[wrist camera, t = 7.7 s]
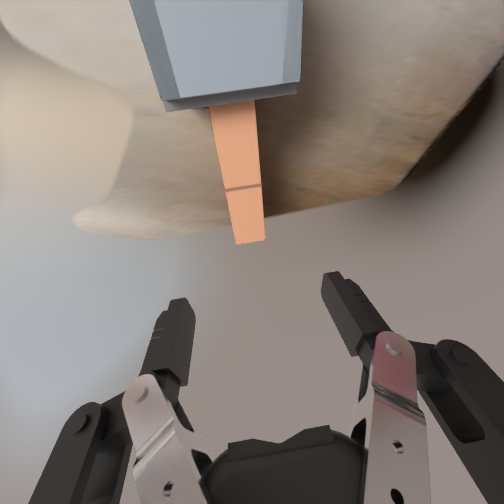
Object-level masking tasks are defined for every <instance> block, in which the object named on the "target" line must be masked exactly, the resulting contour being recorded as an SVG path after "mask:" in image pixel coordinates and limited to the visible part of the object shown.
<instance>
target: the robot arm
mask: <svg viewBox="0 0 504 504" xmlns="http://www.w3.org/2000/svg"><path fill="white" fill-rule="evenodd" d="M321 295H322V299H323V301H324V303H325V305H326V307H327V309H328V311H329V313H330V315H331V317H332V319H333V321H334V323H335V325H336V327H337V329H338V331H339V333H340V335H341V337H342V339H343V341H344V343H345V345H346V346H347V349H348V351H349V353H350V355H351V356H352V357H353V356H359V357H360V359H361V361H362V363H361V369H360V376H359V383H358V389H357V396H356V402H355V406H354V409H353V412H352V417H351V422H350V428H349V435H348V436H346V435H344V434H342V433H340V432H337V431H334V430H331V429H330V426H329V425H326V426H320V427H315V428H309V429H305V430H302V431H301V432H299V433H298V434H296V435H294V436H293V437H291V438H289V439H288V440H286V441H284V442H283V443H278V444H277V443H273V442H267V441H262V440H257V439H249V440H243V441H238V442H233V443H228V449H227V450H225V451H224V452H223V453H222V454H220V455H219V456H218V457H217V458H216V459H214V457H213V455H212V453H211V452H210V450H209V448H208V446H207V444H206V443H205V441H204V440H203V438H202V437H201V436H200V435H199V433H198V432H197V430H196V428H195V426H194V424H193V422H192V421H191V419H190V417H189V415H188V413H187V411H186V409H185V407H184V405H183V403H182V401H181V400H180V398H179V396H178V395H179V388H180V387H181V386H187V384H188V376H189V368H190V361H191V353H192V346H193V338H194V330H195V322H196V320H195V314H194V311H193V309H192V308H191V306H190V304H189V302H188V300H187V299H186V298H179V299H174V300H171V301H170V304H169V307H168V310H167V311H163V312H162V313H161V315H160V316H159V318H158V319H157V321H156V324H155V327H154V332H153V334H152V337H151V340H150V343H149V346H148V350H147V353H146V356H145V359H144V363H143V366H142V369H141V372H140V374H139V376H138V377H137V378H136V379H135V380H134V381H133V382H132V383H131V384H130V385H129V386H128V388H127V389H126V391H125V392H123V393H121V394H119V395H117V396H116V397H114V398H112V399H110V400H108V401H106V402H104V403H102V404H101V405H100V404H98V403H95V402H89V403H86V404H85V405H83V406H81V407H80V408H78V409H77V410H76V411H75V412H74V413H73V414H72V415H71V416H70V417H69V419H68V420H67V422H66V423H65V425H64V427H63V429H62V431H61V433H60V435H59V437H58V439H57V442H56V444H55V446H54V448H53V450H52V453H51V455H50V457H49V459H48V461H47V464H46V466H45V468H44V470H43V472H42V475H41V477H40V479H39V482H38V484H37V486H36V488H35V490H34V492H33V494H32V497H31V499H30V501H29V503H28V504H119V502H120V498H121V494H122V489H123V485H124V480H125V476H126V471H127V466H128V463H129V458H130V453H131V450H132V445H134V448H135V451H136V456H137V458H136V462H135V463H134V466H133V475H134V480H135V484H136V487H137V491H138V495H139V499H140V502H141V504H431V491H430V475H429V459H428V443H427V427H426V419H425V416H424V414H423V412H422V411H421V410H420V409H419V407H418V403H417V390H418V391H419V393H420V394H421V396H422V397H423V399H424V401H425V402H426V404H427V406H428V407H429V409H430V410H431V412H432V414H433V415H434V417H435V418H436V420H437V422H438V423H439V425H440V427H441V428H442V430H443V432H444V433H445V435H446V436H447V438H448V440H449V441H450V443H451V444H452V446H453V448H454V449H455V451H456V453H457V454H458V456H459V457H460V459H461V460H462V462H463V464H464V466H465V467H466V469H467V470H468V472H469V474H470V475H471V477H472V478H473V480H474V482H475V483H476V485H477V487H478V488H479V490H480V491H481V493H482V495H483V496H484V498H485V500H486V501H487V503H488V504H504V382H503V381H502V380H501V379H500V378H499V377H498V376H497V375H496V373H495V372H494V371H493V370H492V369H491V368H490V367H489V366H488V365H487V364H486V363H485V362H484V361H483V360H482V359H481V357H479V356H478V354H477V353H476V352H475V351H473V350H472V349H470V348H469V347H468V346H466V345H464V344H462V343H460V342H458V341H454V340H447V339H446V340H442V341H440V342H438V343H437V344H436V345H434V344H427V343H420V342H414V341H409V340H407V339H405V338H404V337H403V336H401V335H399V334H397V333H395V332H393V331H392V330H391V329H390V328H389V326H388V325H387V324H386V322H385V321H384V320H383V318H382V317H381V316H380V314H379V313H378V312H377V310H376V309H375V307H374V306H373V305H372V303H371V302H370V301H369V299H368V298H367V296H366V295H364V292H363V291H362V290H361V288H360V287H359V286H358V285H357V284H356V283H355V282H353V281H352V280H350V279H344V278H343V277H342V275H341V274H340V272H338V271H336V272H330V273H325V274H324V275H323V281H322V288H321ZM395 450H397V452H396V451H395ZM171 491H172V493H171Z"/></svg>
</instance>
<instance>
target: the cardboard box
mask: <svg viewBox="0 0 504 504" xmlns="http://www.w3.org/2000/svg"><path fill="white" fill-rule="evenodd" d="M208 107H209V112H210V117H211V122H212V127H213V132H214V137H215V142H216V146H217V151H218V156H219V161H220V166H221V171H222V176H223V181H224V188H225V192H226V196H227V201H228V206H229V211H230V216H231V221H232V226H233V231H234V236H235V241H236V244H243V243H249V242H255V241H261V240H265V227H264V214H263V201H262V189H261V186H262V183H261V176H260V164H259V151H258V138H257V126H256V113H255V101H254V100H250V101H242V102H235V103H228V104H221V105H214V106H208Z"/></svg>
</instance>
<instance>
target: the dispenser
mask: <svg viewBox="0 0 504 504" xmlns="http://www.w3.org/2000/svg"><path fill="white" fill-rule="evenodd" d="M129 1H130V4H131V7H132V10H133V13H134V16H135V20H136V23H137V26H138V29H139V32H140V35H141V38H142V41H143V45H144V48H145V51H146V54H147V57H148V60H149V63H150V66H151V70H152V73H153V76H154V79H155V82H156V85H157V88H158V91H159V95H160V98H161V101H163V103H164V106H165V110H166V112H171V111H179V110H186V109H193V108H200V107H207V106H214V105H221V104H228V103H235V102H242V101H250V100H257V99H264V98H271V97H278V96H285V95H292V94H297V83H296V82H299V81H300V71H301V44H302V17H303V0H129Z"/></svg>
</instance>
